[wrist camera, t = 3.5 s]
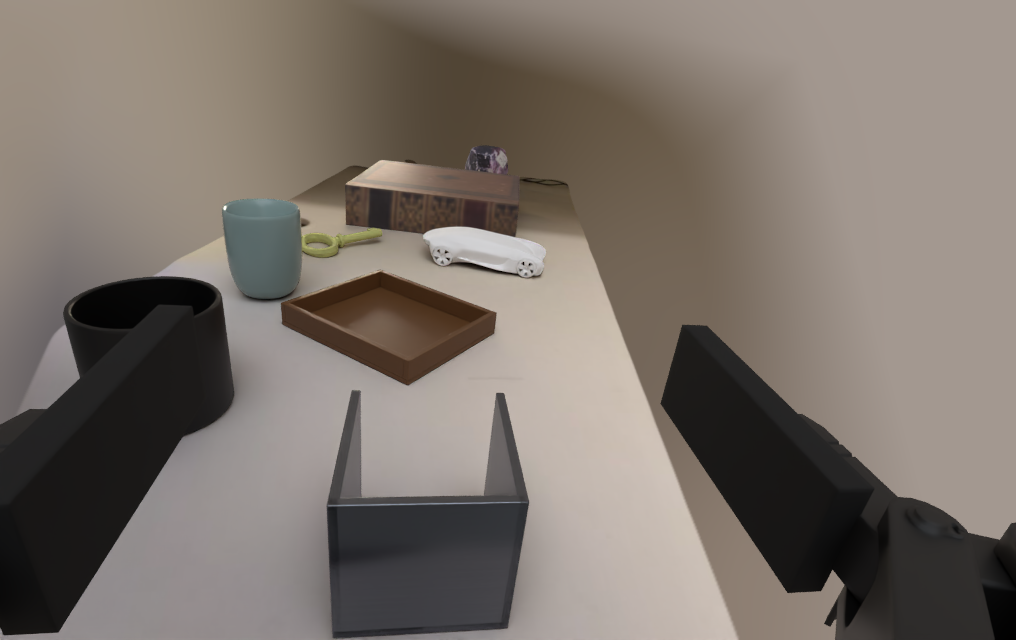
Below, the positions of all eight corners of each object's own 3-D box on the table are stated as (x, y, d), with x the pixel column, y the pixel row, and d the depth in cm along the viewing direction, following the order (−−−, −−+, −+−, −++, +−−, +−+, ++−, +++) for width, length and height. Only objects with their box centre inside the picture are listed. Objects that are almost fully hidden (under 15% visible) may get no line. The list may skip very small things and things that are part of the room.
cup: (234, 280, 64) (225, 197, 60) (304, 279, 67) (299, 199, 63) (228, 308, 58) (216, 217, 54) (305, 305, 60) (300, 218, 56)
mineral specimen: (480, 186, 118) (474, 139, 117) (461, 194, 127) (456, 150, 126) (518, 184, 123) (513, 140, 122) (497, 192, 132) (492, 150, 131)
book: (514, 243, 90) (519, 204, 87) (346, 224, 89) (345, 184, 86) (515, 207, 112) (519, 176, 109) (380, 192, 111) (381, 159, 108)
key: (385, 242, 83) (385, 228, 82) (319, 260, 73) (319, 245, 72) (353, 231, 86) (353, 217, 85) (286, 246, 77) (285, 232, 76)
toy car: (544, 262, 83) (548, 233, 81) (542, 280, 76) (546, 249, 74) (429, 246, 84) (431, 217, 82) (416, 262, 77) (417, 232, 75)
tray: (282, 324, 56) (280, 302, 55) (380, 288, 67) (380, 269, 66) (407, 385, 48) (408, 361, 47) (494, 332, 60) (496, 312, 58)
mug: (72, 481, 34) (34, 359, 30) (104, 382, 44) (78, 279, 40) (236, 452, 38) (222, 340, 34) (233, 367, 48) (221, 272, 44)
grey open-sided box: (507, 628, 29) (529, 502, 25) (332, 638, 27) (326, 505, 23) (489, 502, 37) (504, 392, 33) (353, 505, 35) (351, 389, 31)
